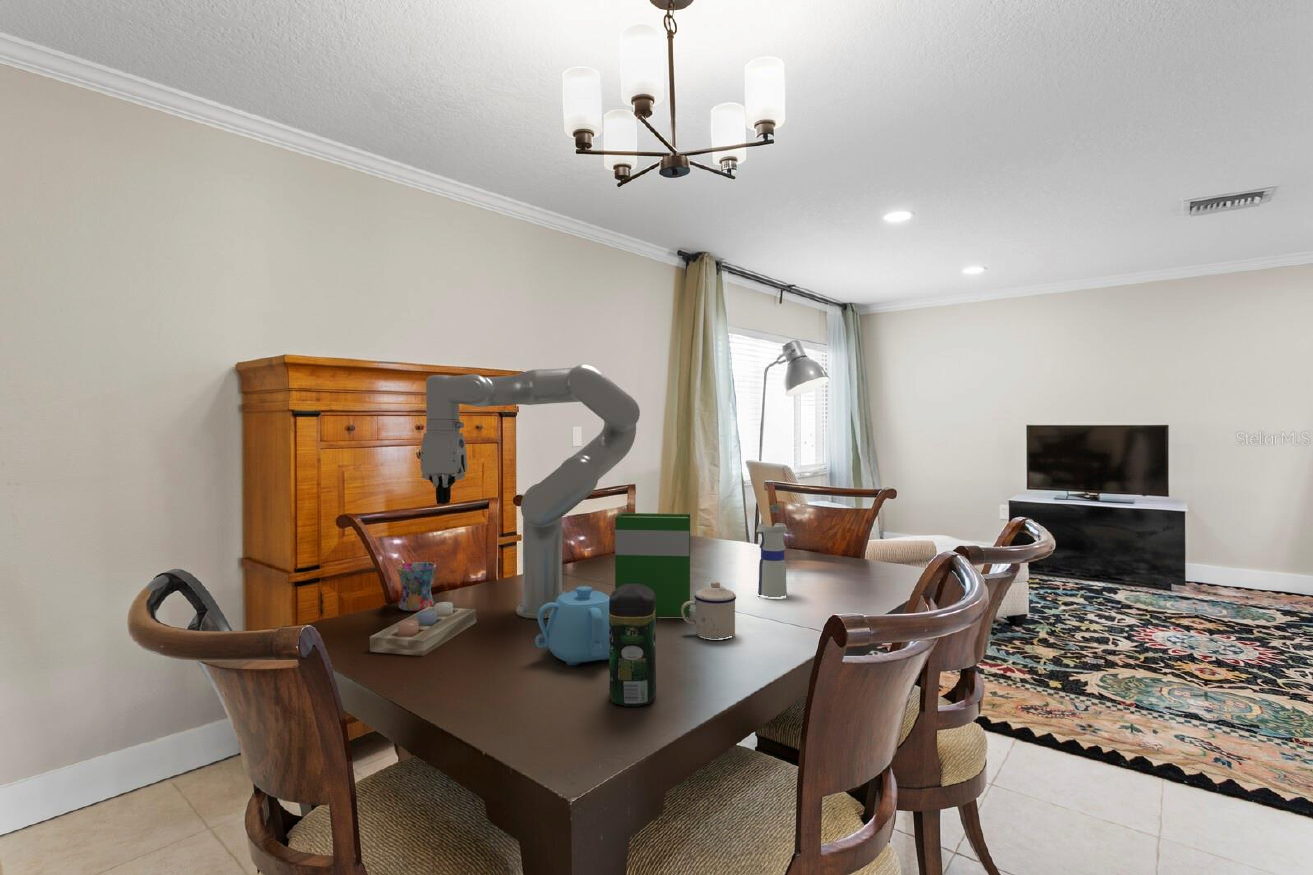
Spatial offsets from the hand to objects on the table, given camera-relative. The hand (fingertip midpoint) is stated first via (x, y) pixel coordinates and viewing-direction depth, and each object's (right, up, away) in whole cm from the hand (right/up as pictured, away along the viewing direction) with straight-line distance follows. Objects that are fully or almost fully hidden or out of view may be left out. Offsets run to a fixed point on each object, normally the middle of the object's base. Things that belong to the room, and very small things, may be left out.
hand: (443, 503), depth 151 cm
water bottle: (+82, -27, +19) cm, 88 cm away
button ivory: (+3, -26, -7) cm, 27 cm away
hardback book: (+50, -27, +3) cm, 57 cm away
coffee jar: (+47, -28, -45) cm, 71 cm away
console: (+1, -27, -14) cm, 31 cm away
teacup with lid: (+63, -28, -13) cm, 70 cm away
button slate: (+1, -26, -14) cm, 30 cm away
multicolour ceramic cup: (-9, -27, +8) cm, 30 cm away
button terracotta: (0, -26, -21) cm, 34 cm away
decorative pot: (+37, -28, -25) cm, 52 cm away
